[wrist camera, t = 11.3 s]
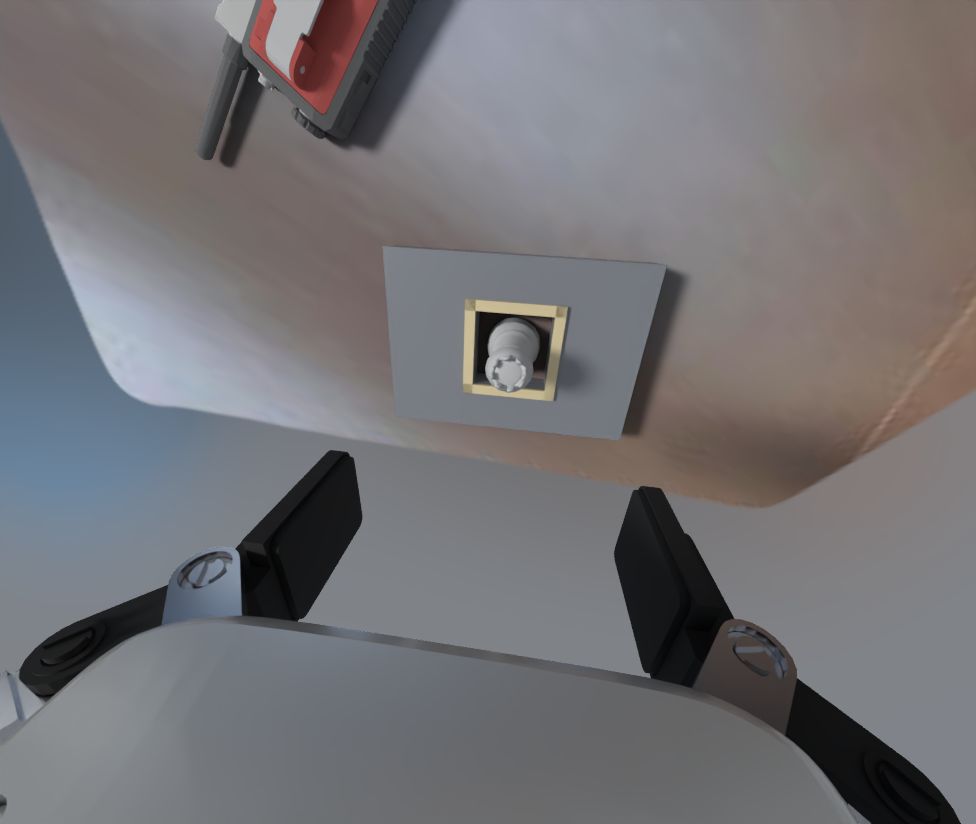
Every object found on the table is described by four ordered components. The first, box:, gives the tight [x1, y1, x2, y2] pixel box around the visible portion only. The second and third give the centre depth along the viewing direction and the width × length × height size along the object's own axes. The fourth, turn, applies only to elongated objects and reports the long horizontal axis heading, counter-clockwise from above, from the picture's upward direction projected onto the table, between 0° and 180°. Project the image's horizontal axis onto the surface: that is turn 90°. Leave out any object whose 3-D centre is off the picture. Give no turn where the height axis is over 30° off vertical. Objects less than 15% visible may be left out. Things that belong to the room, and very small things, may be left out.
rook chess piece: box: [485, 317, 540, 393], centre depth 26 cm, size 4×4×8 cm
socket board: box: [383, 246, 667, 440], centre depth 28 cm, size 20×14×3 cm
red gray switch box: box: [195, 0, 417, 160], centre depth 21 cm, size 9×4×20 cm
